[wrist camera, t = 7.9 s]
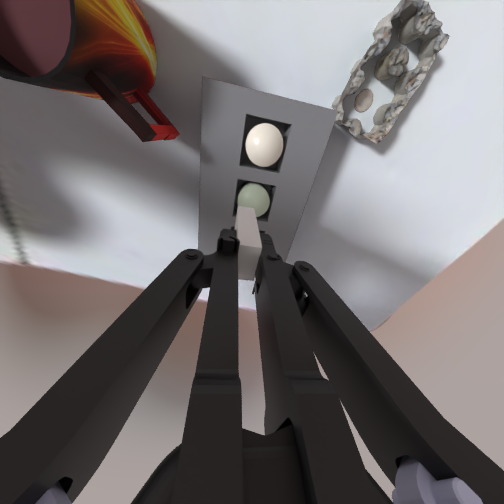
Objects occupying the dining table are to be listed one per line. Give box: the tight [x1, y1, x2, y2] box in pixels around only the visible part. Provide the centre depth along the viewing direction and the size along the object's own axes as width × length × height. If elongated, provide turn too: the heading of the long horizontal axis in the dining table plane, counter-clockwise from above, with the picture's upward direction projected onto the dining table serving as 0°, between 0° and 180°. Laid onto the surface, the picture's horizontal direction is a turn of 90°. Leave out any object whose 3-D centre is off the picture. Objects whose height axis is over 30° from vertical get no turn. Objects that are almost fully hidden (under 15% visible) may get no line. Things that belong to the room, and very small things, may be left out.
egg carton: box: [332, 0, 450, 143], centre depth 20 cm, size 11×8×4 cm
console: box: [198, 77, 338, 262], centre depth 26 cm, size 14×22×5 cm, turn 170°
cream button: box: [245, 123, 283, 167], centre depth 22 cm, size 4×4×3 cm
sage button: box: [238, 181, 270, 217], centre depth 25 cm, size 4×4×3 cm
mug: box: [0, 0, 179, 142], centre depth 15 cm, size 10×14×12 cm
